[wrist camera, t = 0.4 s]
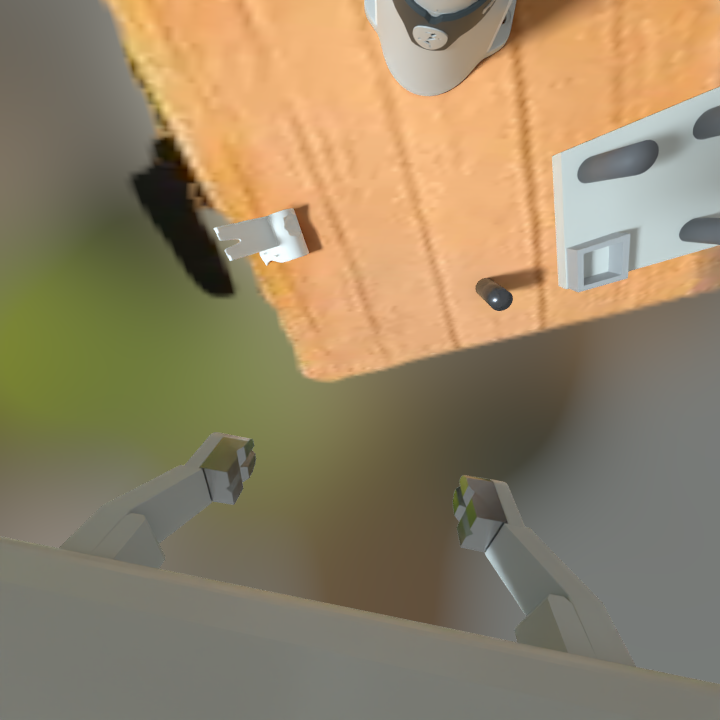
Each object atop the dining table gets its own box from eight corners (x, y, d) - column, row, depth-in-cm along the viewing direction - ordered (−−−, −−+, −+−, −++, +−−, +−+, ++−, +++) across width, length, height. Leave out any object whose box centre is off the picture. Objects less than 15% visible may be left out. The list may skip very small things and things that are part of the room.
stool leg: (480, 276, 48) (496, 288, 40) (497, 280, 48) (516, 293, 40) (472, 293, 50) (486, 308, 42) (489, 297, 50) (506, 312, 42)
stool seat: (551, 156, 39) (604, 136, 29) (729, 82, 34) (868, 27, 24) (558, 285, 47) (601, 305, 37) (702, 243, 42) (797, 252, 32)
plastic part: (311, 252, 50) (290, 262, 40) (265, 266, 52) (234, 279, 42) (296, 208, 47) (269, 206, 37) (248, 225, 49) (210, 228, 39)
